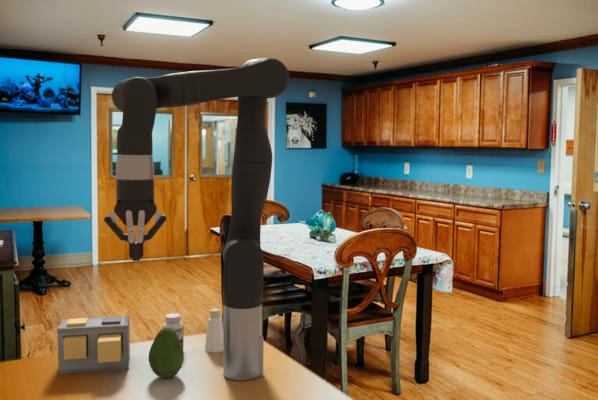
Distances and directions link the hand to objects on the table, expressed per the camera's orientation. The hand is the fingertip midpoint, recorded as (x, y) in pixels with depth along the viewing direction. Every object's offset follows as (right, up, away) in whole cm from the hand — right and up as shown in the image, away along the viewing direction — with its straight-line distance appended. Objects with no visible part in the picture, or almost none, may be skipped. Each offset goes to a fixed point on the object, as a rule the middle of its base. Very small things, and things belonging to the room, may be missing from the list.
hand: (136, 260), depth 122 cm
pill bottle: (0, -28, +35) cm, 45 cm away
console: (-17, -29, +24) cm, 41 cm away
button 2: (-12, -25, +19) cm, 34 cm away
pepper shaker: (+11, -28, +36) cm, 47 cm away
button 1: (-20, -25, +21) cm, 38 cm away
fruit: (+2, -30, +17) cm, 34 cm away
